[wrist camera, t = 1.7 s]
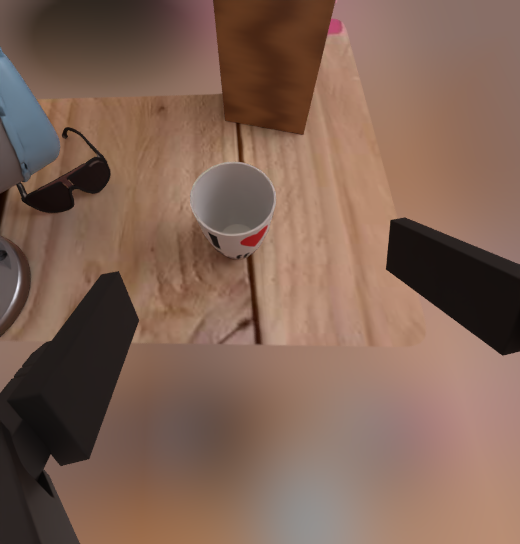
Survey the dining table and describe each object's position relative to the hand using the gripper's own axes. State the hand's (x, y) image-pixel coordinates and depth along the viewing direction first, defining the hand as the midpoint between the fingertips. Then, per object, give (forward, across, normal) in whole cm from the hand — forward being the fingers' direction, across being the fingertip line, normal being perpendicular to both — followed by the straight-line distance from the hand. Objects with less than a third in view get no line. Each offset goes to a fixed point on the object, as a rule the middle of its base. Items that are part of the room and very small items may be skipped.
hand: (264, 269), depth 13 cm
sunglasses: (+32, -21, +4) cm, 39 cm away
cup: (+22, 0, -6) cm, 23 cm away
